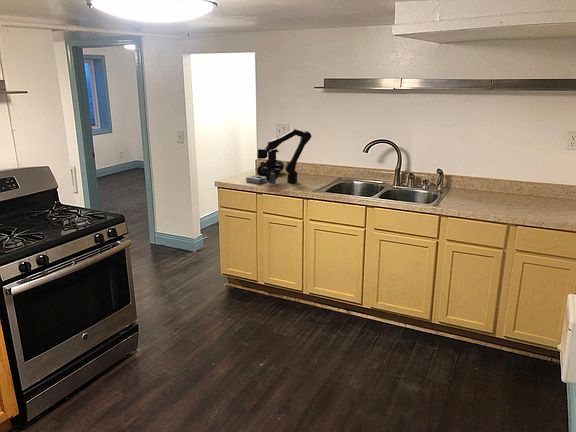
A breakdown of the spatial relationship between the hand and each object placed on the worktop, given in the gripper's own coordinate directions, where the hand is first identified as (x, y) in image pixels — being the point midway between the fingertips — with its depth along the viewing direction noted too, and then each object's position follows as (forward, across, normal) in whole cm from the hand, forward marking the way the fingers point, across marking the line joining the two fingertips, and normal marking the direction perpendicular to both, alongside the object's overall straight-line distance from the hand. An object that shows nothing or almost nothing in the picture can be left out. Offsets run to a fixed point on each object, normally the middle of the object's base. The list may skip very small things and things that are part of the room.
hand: (272, 180), depth 340 cm
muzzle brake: (+3, -24, -20) cm, 31 cm away
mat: (+3, 0, 0) cm, 3 cm away
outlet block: (+3, +3, -12) cm, 12 cm away
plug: (+2, 0, 0) cm, 2 cm away
